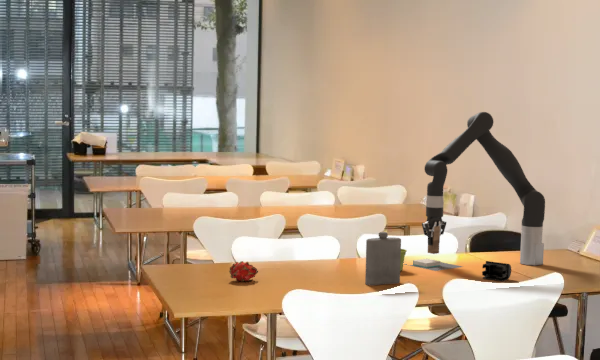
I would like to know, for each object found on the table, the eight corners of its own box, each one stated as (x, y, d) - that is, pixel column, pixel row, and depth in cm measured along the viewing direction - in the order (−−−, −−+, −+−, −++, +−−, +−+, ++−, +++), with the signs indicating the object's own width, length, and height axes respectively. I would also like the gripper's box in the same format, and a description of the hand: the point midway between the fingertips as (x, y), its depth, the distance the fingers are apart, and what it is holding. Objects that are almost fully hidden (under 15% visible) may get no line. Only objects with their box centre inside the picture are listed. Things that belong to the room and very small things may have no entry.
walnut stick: (438, 253, 366) (439, 226, 366) (433, 253, 364) (434, 226, 363) (433, 252, 369) (433, 225, 368) (427, 252, 367) (428, 225, 366)
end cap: (511, 279, 340) (511, 263, 339) (504, 282, 334) (504, 265, 333) (488, 276, 346) (488, 260, 345) (481, 278, 340) (481, 262, 339)
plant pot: (388, 272, 349) (389, 252, 348) (380, 268, 358) (381, 248, 357) (409, 271, 351) (410, 251, 350) (401, 267, 360) (401, 247, 359)
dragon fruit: (225, 285, 324) (255, 288, 328) (232, 275, 317) (262, 279, 321) (225, 265, 328) (254, 268, 332) (231, 256, 322) (261, 259, 326)
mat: (463, 267, 364) (463, 266, 363) (435, 271, 352) (435, 270, 352) (426, 260, 381) (426, 259, 381) (398, 263, 370) (398, 262, 370)
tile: (440, 261, 364) (426, 263, 359) (440, 265, 365) (426, 267, 359) (427, 258, 371) (412, 260, 365) (426, 263, 371) (412, 265, 365)
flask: (394, 280, 332) (395, 230, 330) (402, 283, 327) (403, 232, 325) (361, 283, 326) (363, 232, 324) (369, 286, 320) (370, 234, 319)
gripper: (430, 207, 358) (428, 247, 359) (452, 205, 367) (450, 244, 368) (417, 206, 364) (416, 245, 365) (439, 204, 372) (438, 242, 374)
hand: (433, 244), depth 366 cm, fingers closed on walnut stick, 3 cm apart
